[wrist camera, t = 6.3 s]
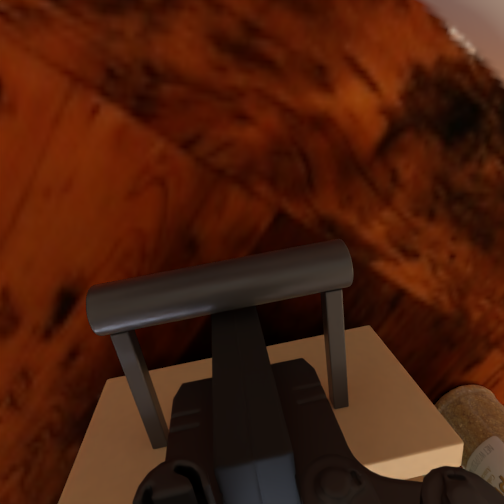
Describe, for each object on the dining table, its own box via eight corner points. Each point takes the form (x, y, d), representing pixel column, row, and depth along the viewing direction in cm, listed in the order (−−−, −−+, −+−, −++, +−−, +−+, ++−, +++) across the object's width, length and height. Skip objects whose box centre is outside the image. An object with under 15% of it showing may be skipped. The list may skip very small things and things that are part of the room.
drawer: (55, 253, 14) (-74, 363, 7) (366, 196, 15) (489, 252, 8) (176, 549, 22) (162, 725, 15) (373, 502, 23) (438, 650, 16)
